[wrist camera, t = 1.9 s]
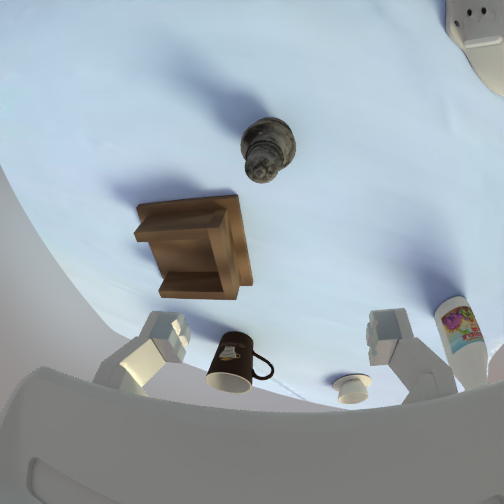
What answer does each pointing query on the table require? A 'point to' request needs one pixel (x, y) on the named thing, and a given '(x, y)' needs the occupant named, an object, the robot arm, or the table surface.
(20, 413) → the robot arm
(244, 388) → the coffee mug
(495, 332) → the table surface
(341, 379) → the teacup
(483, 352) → the milk bottle
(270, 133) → the grey chess piece
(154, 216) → the u-rest
